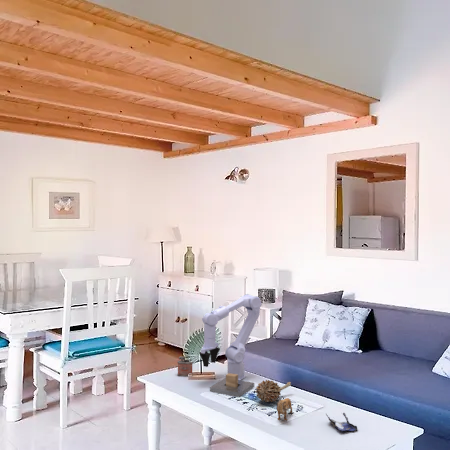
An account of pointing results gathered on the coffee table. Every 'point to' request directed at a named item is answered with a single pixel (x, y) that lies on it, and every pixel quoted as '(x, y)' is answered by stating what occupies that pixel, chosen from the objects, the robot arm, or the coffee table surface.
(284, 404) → the lion figurine
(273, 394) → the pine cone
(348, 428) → the blue pointed piece
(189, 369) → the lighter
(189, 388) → the coffee table surface
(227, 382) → the tan cardboard box
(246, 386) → the collar plate
